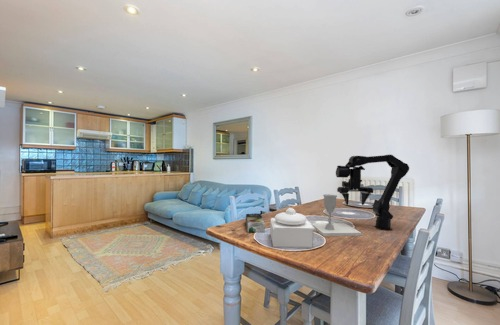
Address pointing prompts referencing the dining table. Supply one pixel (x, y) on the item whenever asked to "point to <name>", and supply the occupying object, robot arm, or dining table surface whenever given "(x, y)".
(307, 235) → the butter dish
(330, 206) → the chalice
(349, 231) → the platter
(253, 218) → the juice carton
